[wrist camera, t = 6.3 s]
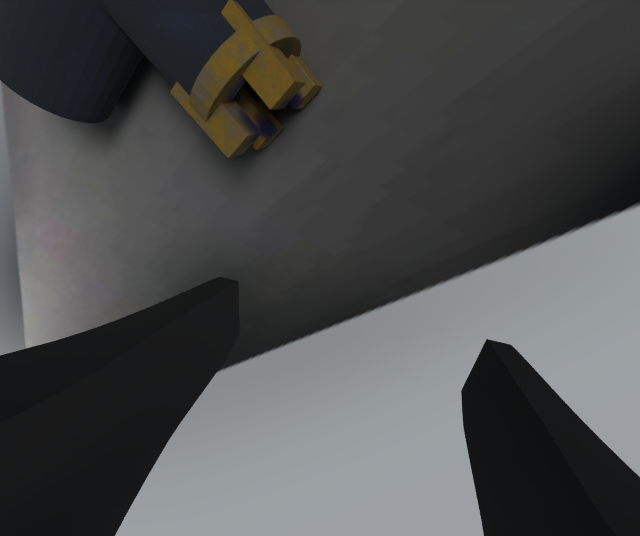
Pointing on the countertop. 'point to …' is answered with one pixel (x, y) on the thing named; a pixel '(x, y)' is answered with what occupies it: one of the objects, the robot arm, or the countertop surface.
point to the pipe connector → (158, 60)
